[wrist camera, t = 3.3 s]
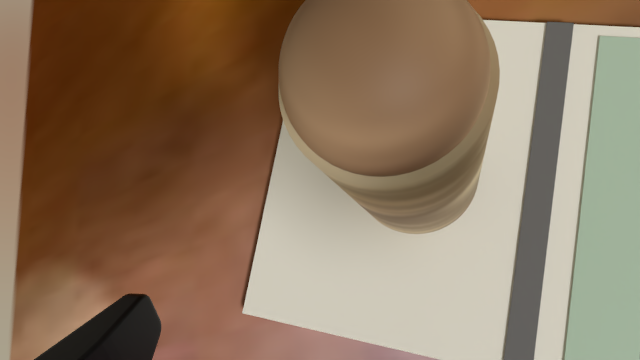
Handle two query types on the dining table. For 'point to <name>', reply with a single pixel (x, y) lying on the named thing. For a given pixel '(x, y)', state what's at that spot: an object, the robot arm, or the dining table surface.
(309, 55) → the wooden pin
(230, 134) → the dining table surface
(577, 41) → the board
